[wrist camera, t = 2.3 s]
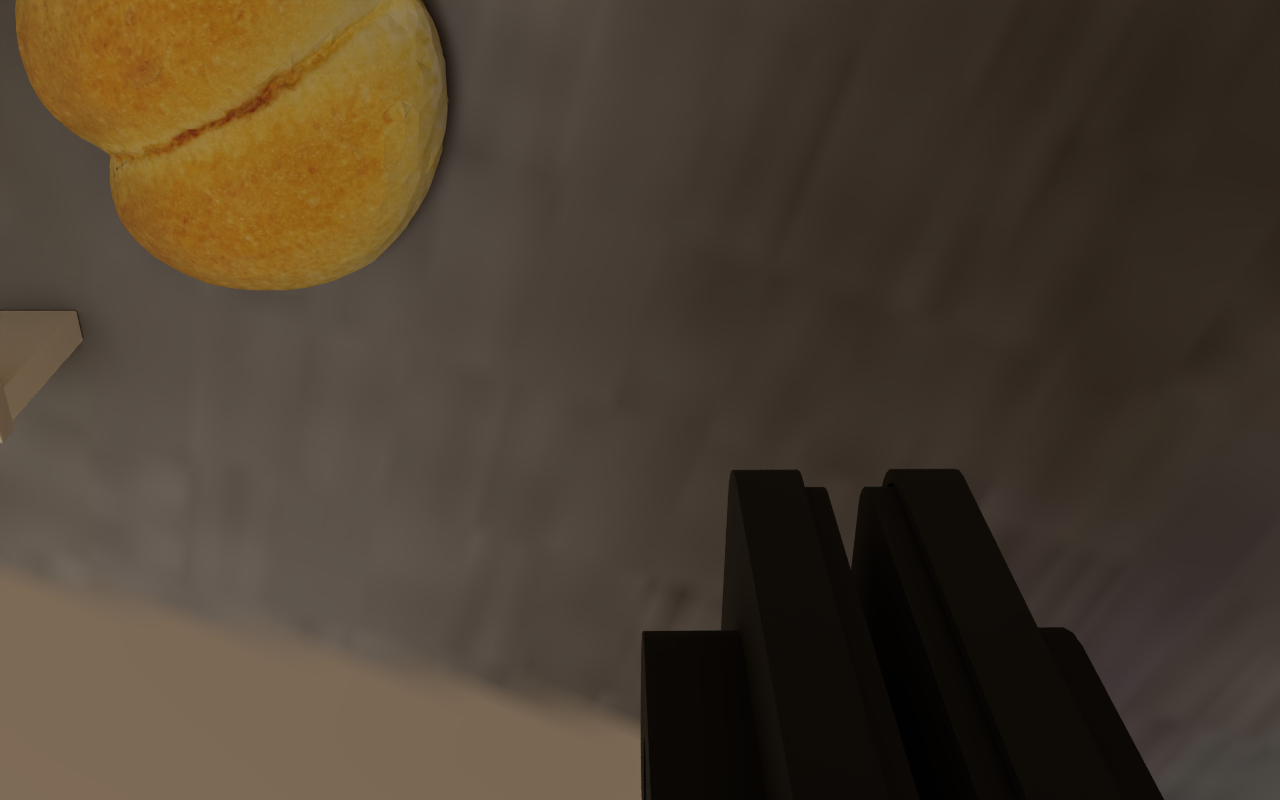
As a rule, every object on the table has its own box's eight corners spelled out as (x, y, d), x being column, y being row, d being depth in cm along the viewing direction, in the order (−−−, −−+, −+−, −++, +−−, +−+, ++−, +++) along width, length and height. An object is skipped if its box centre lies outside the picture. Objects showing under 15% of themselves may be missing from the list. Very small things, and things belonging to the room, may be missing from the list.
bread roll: (213, 308, 30) (160, 384, 26) (-10, -50, 26) (-109, -17, 22) (521, 186, 28) (508, 249, 25) (336, -212, 24) (290, -204, 21)
